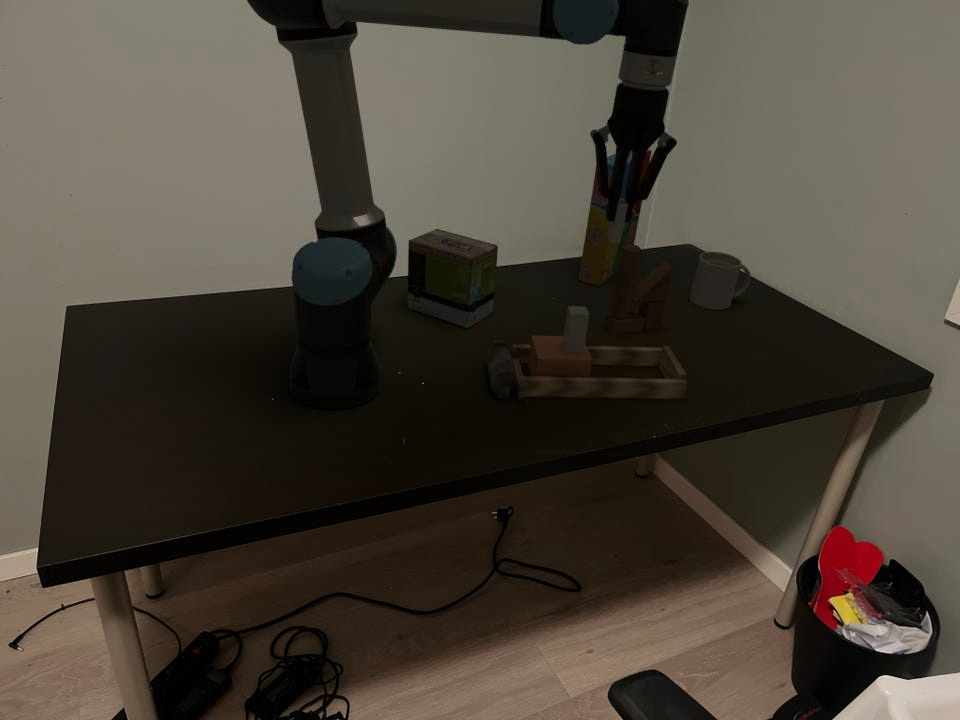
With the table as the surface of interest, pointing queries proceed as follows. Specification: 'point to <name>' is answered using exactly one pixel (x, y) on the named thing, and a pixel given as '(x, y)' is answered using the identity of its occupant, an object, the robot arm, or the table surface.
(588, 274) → the game box
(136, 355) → the table surface
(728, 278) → the mug
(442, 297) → the tea box
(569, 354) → the brown block with post
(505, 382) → the bay
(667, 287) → the brown wooden stand
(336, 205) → the robot arm
